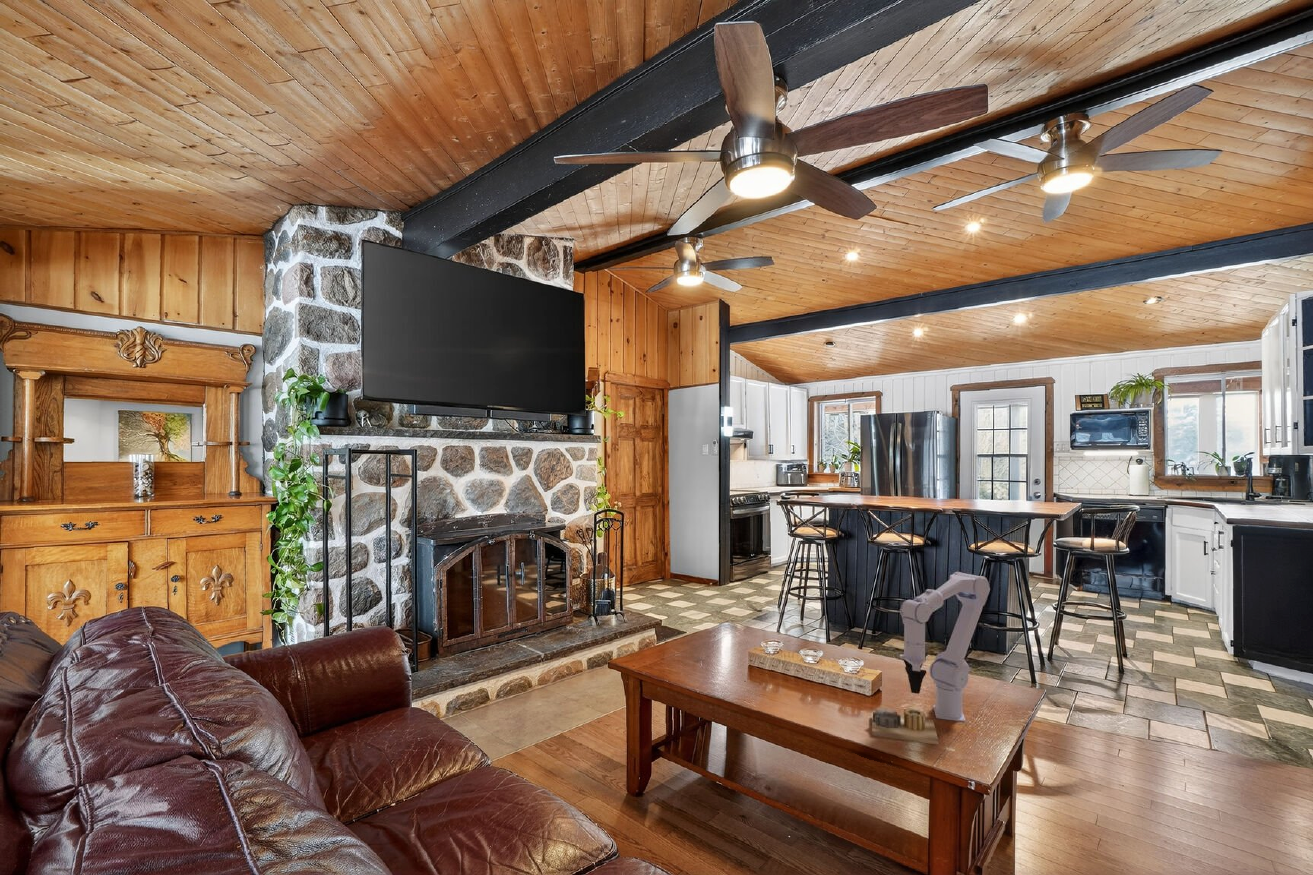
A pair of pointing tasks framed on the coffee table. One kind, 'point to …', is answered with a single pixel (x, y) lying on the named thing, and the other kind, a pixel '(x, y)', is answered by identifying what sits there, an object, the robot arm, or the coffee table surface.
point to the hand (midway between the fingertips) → (914, 688)
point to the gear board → (901, 728)
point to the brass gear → (914, 719)
